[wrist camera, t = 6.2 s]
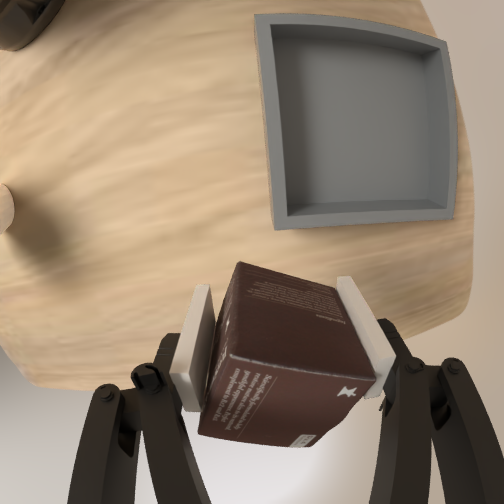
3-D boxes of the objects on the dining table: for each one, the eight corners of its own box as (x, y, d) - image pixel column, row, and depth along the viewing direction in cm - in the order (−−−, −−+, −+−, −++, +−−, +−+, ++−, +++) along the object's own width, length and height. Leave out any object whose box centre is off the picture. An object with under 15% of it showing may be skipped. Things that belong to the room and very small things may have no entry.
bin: (254, 31, 21) (254, 14, 17) (424, 49, 20) (446, 41, 16) (271, 215, 29) (274, 230, 25) (431, 207, 28) (453, 219, 24)
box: (238, 255, 15) (228, 352, 8) (337, 285, 16) (382, 378, 9) (210, 338, 17) (193, 435, 10) (296, 358, 18) (311, 450, 11)
